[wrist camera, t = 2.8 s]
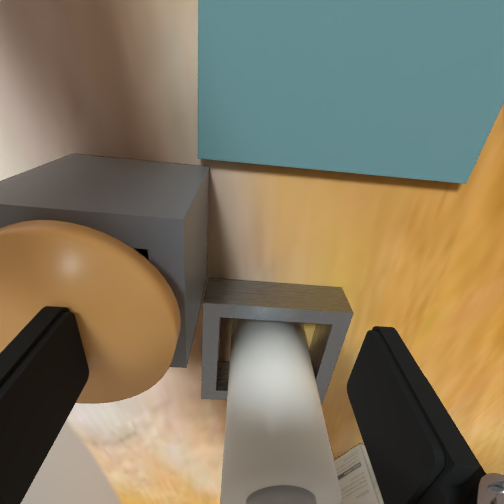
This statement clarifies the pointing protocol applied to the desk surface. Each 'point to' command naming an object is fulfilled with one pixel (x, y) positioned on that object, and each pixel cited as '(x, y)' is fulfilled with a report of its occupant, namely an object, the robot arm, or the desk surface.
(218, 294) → the frame
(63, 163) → the plunger housing
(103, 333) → the plunger
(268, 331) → the cylinder
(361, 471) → the skincare box
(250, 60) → the pad
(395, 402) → the robot arm
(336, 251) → the desk surface
